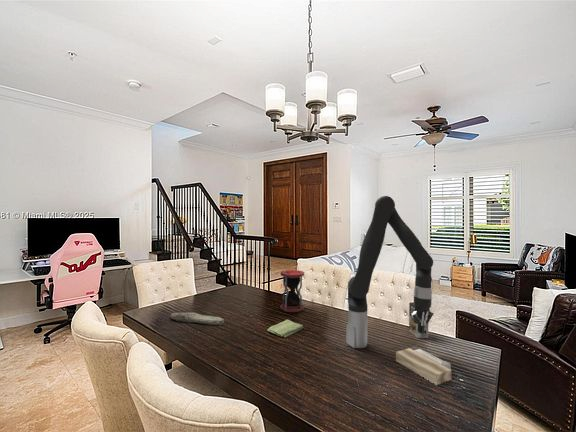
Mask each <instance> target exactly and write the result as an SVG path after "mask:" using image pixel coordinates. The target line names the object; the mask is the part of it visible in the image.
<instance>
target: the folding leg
mask: <svg viewBox="0 0 576 432" xmlns="http://www.w3.org/2000/svg"><path fill="white" fill-rule="evenodd" d="M409 348H411V349H412V350H414V351H416V352H418V353H420V354H422V355H424V356H426V357H428V358H430V359H432V360H433V361H435V362H437V363H439V364H441V365H443V366H445V367H447V368H449V369H451V367H452V366H451V365H452V364H451V363H450V362H449V361H448V362H447V361H444V360H442V359H441V358H438V357H437V356H435V355H433V354H430V353H429V352H427V351H425V350H423V349H421V348H420V347H418V346H417V345H413V346H410V347H409ZM451 370H452V369H451Z"/></svg>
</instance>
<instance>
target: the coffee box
mask: <svg viewBox="0 0 576 432" xmlns="http://www.w3.org/2000/svg"><path fill="white" fill-rule="evenodd" d="M408 305H409V306H408V309H409V310H408V311H409V312H408V322H409V323H408V331H409V333H411V334H412V335H413V336H415V337H416V338H417V339H428V338H429V323H428V324H427V323H426V325H425V328H424V333H422V334H421V333H419V332H418V324H416V323H414V321H413V319H412V318H411V316H410V314H411V313H412V314H413V312H414V309H415V305H414V301H413V302H409V304H408Z"/></svg>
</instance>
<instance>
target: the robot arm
mask: <svg viewBox="0 0 576 432" xmlns="http://www.w3.org/2000/svg"><path fill="white" fill-rule="evenodd" d="M388 224H389V226H390V227H391V228H392V230H393V231H394V233H395V235H396V237H398V240H399V241H400V242H401V244H402V245H403V246H404V248H405V249H406V250H407V252H408V253H409V254H410V256H411V258H412V259H413V260H414V262H415V277H414V279H415V281H414V290H413V302H414V305H415V309H414V312H413V314H412V313H411V314H410V316H411V318H412V319H413V321H414V323H416V324H418V332H419V333H421V334H422V333H424V328H425V325H426V323H427V324H428V325H429V323H430V321H431V319H432V317H433V316H434V312H432V311H431V309H430V308H432V299H433V298H432V297H433V291H432V284H433V283H432V282H433V280H432V279H433V277H432V267H433V265H434V260H433V258H432V256H431V255H430V254H429V252H428V251H427V250H426V249H425V247H424V246H423V245H422V243H421V241H420V240H419V238H418V237H417V235H416V234H415V233H414V231H413V230H412V229H411V228H410V227H409V226H408V225H407V224H406V223H405V222H404V220H403V219H402V218H401V215H400V214H399V213H398V210H397V209H396V203H395V201H394V199H393V198H392V197H390V196H388V195H383V196H380V197H379V198H377V199H376V200H375V202H374V211H373V214H372V218H371V221H370V225H369V227H368V228H367V231H366V233H365V236H364V238H363V239H362V240H363V241H362V243H361V247H360V250H359V251H360V252H359V259H358V264H357V265H358V266H357V270H356V271H355V275H354V276H351V278H350V279H349V281H348V282H347V307H348V312H347V315H348V318H347V320H348V321H347V324H346V340H345V342H346V344H347V345H349V346H350V347H352V348H353V349H364V348H367V346H368V301H367V295H368V293H369V290H370V286H371V281H372V277H373V273H374V270H375V267H376V265H377V262H378V260H379V257H380V254H381V251H382V248H383V244H384V240H385V236H386V230H387V226H388Z"/></svg>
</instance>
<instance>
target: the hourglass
mask: <svg viewBox="0 0 576 432" xmlns="http://www.w3.org/2000/svg"><path fill="white" fill-rule="evenodd" d="M280 275H281V276H282V278H283V280H282V283H283V287H284V291H283V293H282V304H281V305H280V306H279V308H280V310H282V311H283V312H286V313H287V312H288V313H297V312H302V311H304V309H305V306H304V304H302V303H303V297H302V294H301V289H302V286H303V276H304V275H305V272H304V271H302V270H300V269H299V270H297V269H286V270H285V269H284V270H282V271H280Z"/></svg>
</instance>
